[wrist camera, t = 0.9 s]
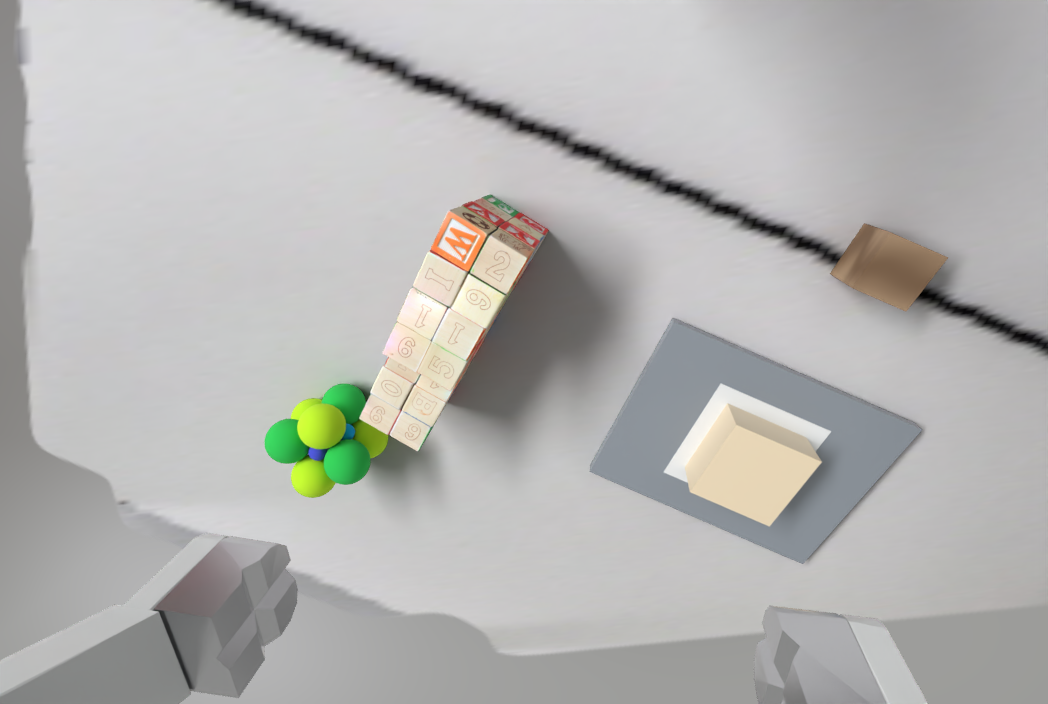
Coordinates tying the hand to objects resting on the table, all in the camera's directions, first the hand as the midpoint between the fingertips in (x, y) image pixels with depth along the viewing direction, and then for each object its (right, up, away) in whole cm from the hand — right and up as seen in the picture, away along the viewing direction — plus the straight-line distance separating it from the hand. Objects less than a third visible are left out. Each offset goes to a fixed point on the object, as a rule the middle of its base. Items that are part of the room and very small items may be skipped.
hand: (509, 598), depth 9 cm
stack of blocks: (-5, +9, +41) cm, 42 cm away
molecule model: (-19, -3, +48) cm, 52 cm away
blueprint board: (+21, -5, +41) cm, 47 cm away
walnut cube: (+29, +12, +33) cm, 46 cm away
